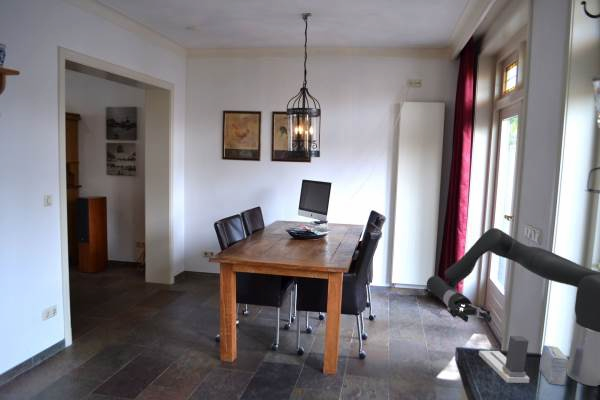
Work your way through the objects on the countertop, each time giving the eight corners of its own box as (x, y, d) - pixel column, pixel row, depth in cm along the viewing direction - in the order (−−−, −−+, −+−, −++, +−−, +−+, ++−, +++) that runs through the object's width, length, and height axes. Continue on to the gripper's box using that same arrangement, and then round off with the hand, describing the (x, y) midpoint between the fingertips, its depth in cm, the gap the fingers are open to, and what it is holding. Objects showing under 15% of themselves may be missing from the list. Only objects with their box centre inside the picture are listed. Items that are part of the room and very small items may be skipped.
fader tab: (517, 369, 128) (522, 335, 127) (525, 376, 125) (531, 341, 123) (502, 368, 128) (507, 335, 126) (510, 376, 124) (515, 341, 122)
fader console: (498, 355, 140) (498, 350, 140) (528, 382, 124) (529, 377, 124) (478, 354, 139) (479, 350, 139) (506, 382, 124) (507, 377, 123)
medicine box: (564, 386, 124) (569, 359, 123) (548, 383, 125) (552, 356, 124) (553, 372, 132) (558, 346, 131) (538, 369, 133) (543, 344, 131)
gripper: (440, 292, 162) (461, 309, 146) (475, 293, 163) (499, 310, 147) (438, 310, 163) (458, 329, 147) (472, 311, 164) (496, 330, 148)
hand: (478, 319), depth 147 cm, fingers open, 8 cm apart
